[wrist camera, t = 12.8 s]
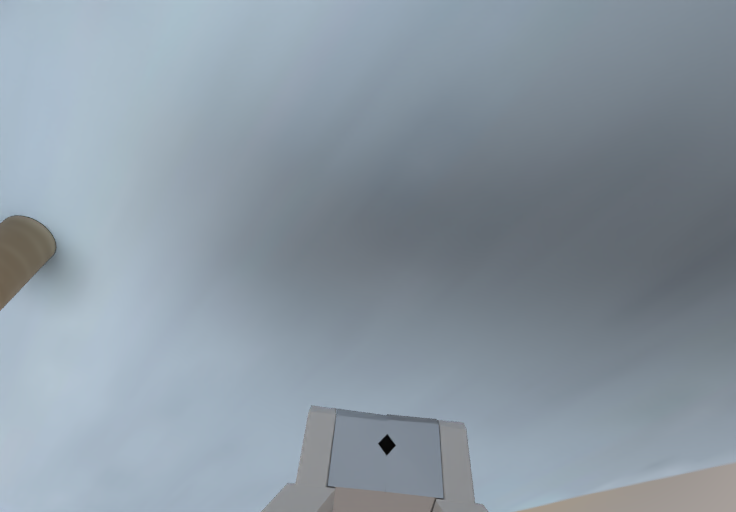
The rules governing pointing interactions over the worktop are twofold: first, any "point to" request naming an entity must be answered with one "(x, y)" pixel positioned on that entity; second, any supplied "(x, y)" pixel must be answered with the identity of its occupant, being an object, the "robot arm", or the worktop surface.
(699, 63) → the worktop surface
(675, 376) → the worktop surface
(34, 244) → the post
